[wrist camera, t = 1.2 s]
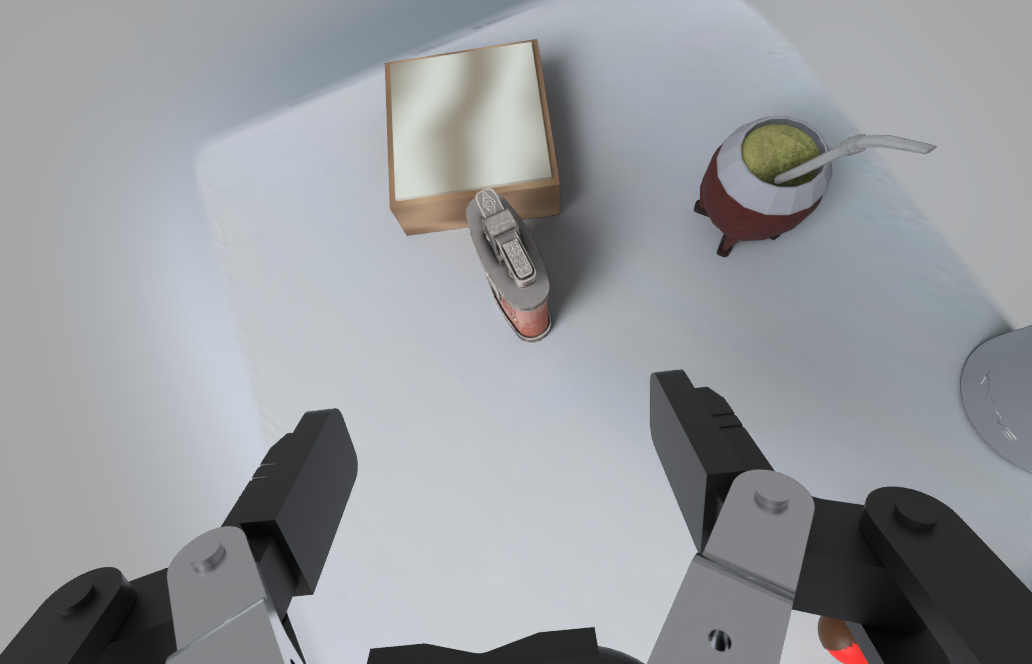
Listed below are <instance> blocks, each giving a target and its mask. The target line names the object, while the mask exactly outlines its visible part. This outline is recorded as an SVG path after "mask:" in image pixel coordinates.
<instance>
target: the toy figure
mask: <svg viewBox="0 0 1032 664" xmlns="http://www.w3.org/2000/svg"><path fill="white" fill-rule="evenodd" d="M818 635H819V638H820V641H821V643H822V645H823V647H824V648H825V649H827V650H828V651H829V652H830V654H832V655H833V656H834V657H835V658H836V659H837V660H839V661H840V662H842V663H844V664H868V662H867V660H866V659H865V657H864V655H863V653H862V651H861V650H860V648H859V646H858V644H857V643H856V641H855V639H854V637H853V635H852V634H851V632H850V630H849V628H848V627H847V625H846V623H845V621H844V620H840V619H835V618H830V617H826V616H821V617H820V619H819V622H818Z"/></svg>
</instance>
